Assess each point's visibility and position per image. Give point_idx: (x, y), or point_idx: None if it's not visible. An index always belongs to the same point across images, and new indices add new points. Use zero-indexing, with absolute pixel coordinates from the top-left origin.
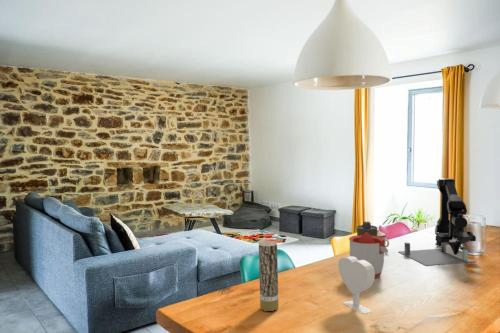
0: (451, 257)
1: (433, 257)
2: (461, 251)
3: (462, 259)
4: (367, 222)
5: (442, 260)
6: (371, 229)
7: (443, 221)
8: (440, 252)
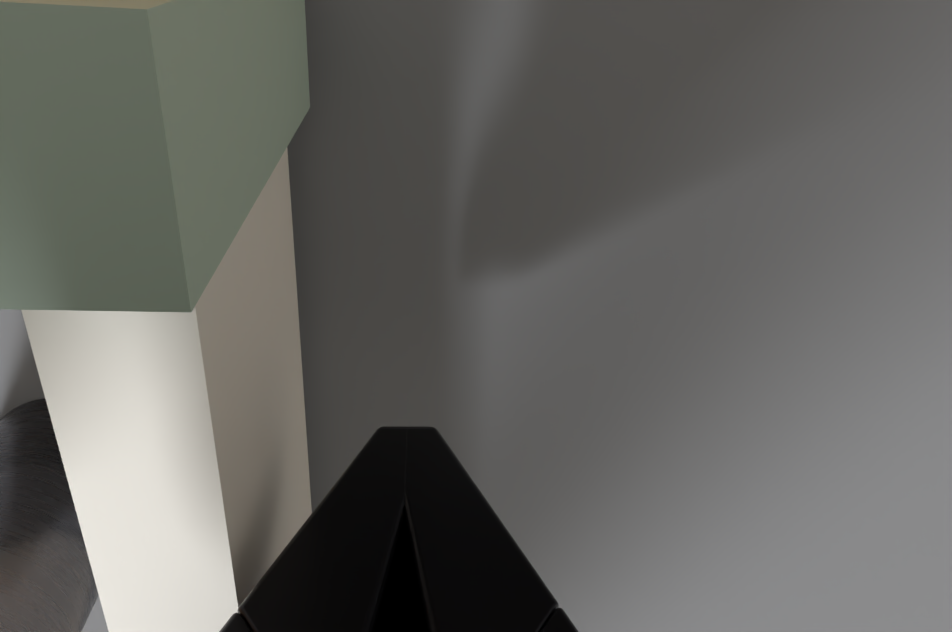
0: None
1: (893, 561)
2: (213, 371)
3: (308, 105)
4: None
5: (941, 283)
6: None
7: None
8: None
